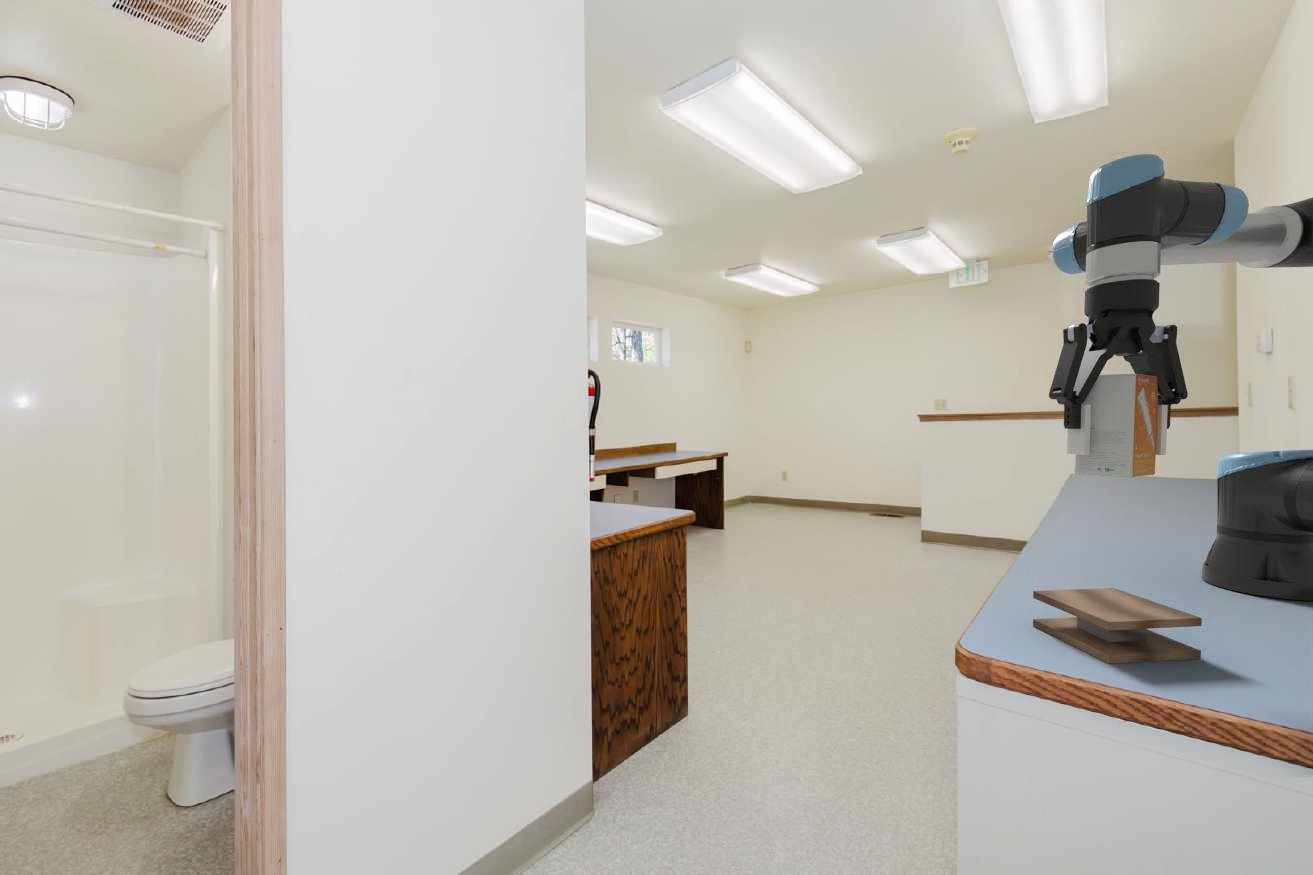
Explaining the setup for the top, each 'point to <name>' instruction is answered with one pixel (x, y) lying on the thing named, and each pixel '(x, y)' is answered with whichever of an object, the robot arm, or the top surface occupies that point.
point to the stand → (1116, 625)
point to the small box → (1121, 426)
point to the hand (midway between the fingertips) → (1115, 454)
